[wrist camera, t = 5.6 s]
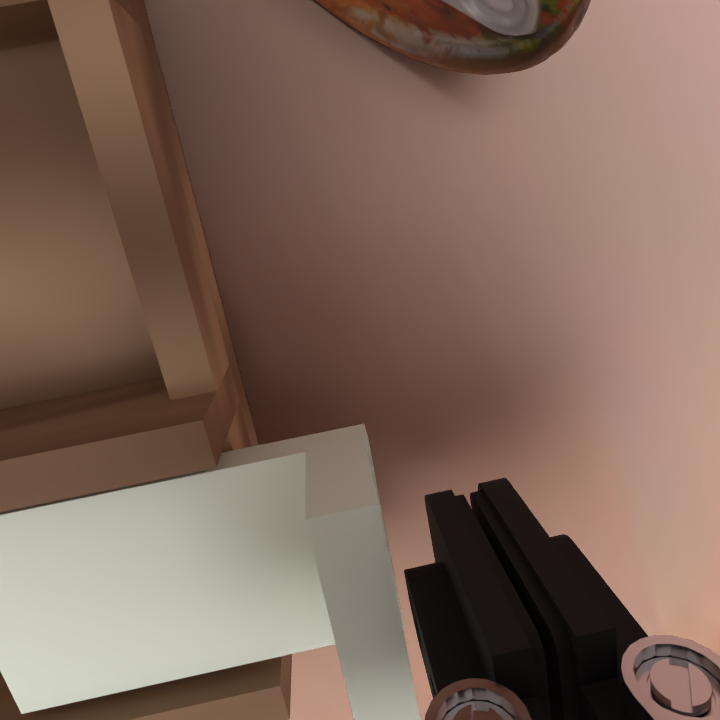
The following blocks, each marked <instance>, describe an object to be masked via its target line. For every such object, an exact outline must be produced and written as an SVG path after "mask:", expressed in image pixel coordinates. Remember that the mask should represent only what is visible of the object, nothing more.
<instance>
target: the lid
mask: <svg viewBox="0 0 720 720" xmlns="http://www.w3.org/2000/svg"><path fill="white" fill-rule="evenodd" d="M403 629H405V628H404V623H403V618H402V613H401V607H400V602H399V597H398V592H397V586H396V581H395V576H394V571H393V565H392V560H391V555H390V550H389V544H388V539H387V534H386V529H385V524H384V518H383V513H382V508H381V503H380V497H379V492H378V487H377V482H376V476H375V471H374V466H373V461H372V456H371V450H370V445H369V440H368V436H367V432H366V428H365V424H359V425H354V426H350V427H345V428H340V429H335V430H330V431H325V432H320V433H316V434H311V435H306V436H301V437H296V438H291V439H286V440H281V441H277V442H272V443H267V444H262V445H257V446H252V447H247V448H242V449H238V450H233V451H228V452H223V453H221V456H220V459H219V462H218V465H217V468H212V469H207V470H202V471H197V472H193V473H188V474H183V475H178V476H173V477H168V478H163V479H159V480H154V481H149V482H144V483H139V484H134V485H130V486H125V487H120V488H115V489H110V490H105V491H100V492H96V493H91V494H86V495H81V496H76V497H71V498H67V499H62V500H57V501H52V502H47V503H42V504H38V505H33V506H28V507H23V508H18V509H13V510H8V511H4V512H0V671H1V673H2V675H3V677H4V679H5V682H6V684H7V686H8V688H9V690H10V692H11V694H12V696H13V698H14V700H15V702H16V704H17V706H18V708H19V710H20V712H21V714H24V713H29V712H33V711H38V710H42V709H47V708H51V707H56V706H60V705H65V704H69V703H74V702H78V701H82V700H87V699H91V698H96V697H100V696H105V695H109V694H114V693H118V692H123V691H127V690H132V689H136V688H141V687H145V686H150V685H154V684H159V683H163V682H168V681H172V680H177V679H181V678H186V677H190V676H195V675H199V674H204V673H208V672H213V671H217V670H222V669H226V668H231V667H235V666H240V665H244V664H249V663H253V662H258V661H262V660H267V659H271V658H276V657H280V656H285V655H289V654H294V653H298V652H303V651H307V650H312V649H316V648H321V647H325V646H330V645H334V644H336V648H337V652H338V656H339V660H340V665H341V669H342V673H343V677H344V681H345V685H346V689H347V693H348V698H349V702H350V706H351V710H352V714H353V718H354V720H420V715H419V710H418V704H417V699H416V694H415V689H414V684H413V678H412V673H411V668H410V663H409V658H408V652H407V647H406V642H405V637H404V631H403Z"/></svg>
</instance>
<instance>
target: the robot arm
mask: <svg viewBox="0 0 720 720" xmlns="http://www.w3.org/2000/svg"><path fill="white" fill-rule="evenodd" d="M470 500H471V507H472V509H471V507H470V505H469V504H468V502H467V500H466V498H465V496H464V495H458V496H455V495H454V493H453V491H452V490H447V491H442V492H438V493H433V494H429V495H425V504H426V510H427V516H428V522H429V528H430V533H431V539H432V545H433V551H434V557H435V563H433V564H428V565H424V566H419V567H415V568H411V569H406V570H404V573H405V579H406V584H407V590H408V595H409V600H410V605H411V610H412V614H413V619H414V624H415V628H416V632H417V637H418V641H419V645H420V649H421V653H422V657H423V661H424V665H425V669H426V673H427V676H428V680H429V684H430V688H431V692H432V696H433V700H432V701H431V703H430V706H429V708H428V710H427V712H426V715H425V720H720V656H718V655H717V654H716V653H714V652H713V651H711V650H710V649H709V648H707V647H704V646H702V645H700V644H698V643H696V642H693V641H691V640H688V639H684V638H680V637H676V636H666V635H654V636H649V637H648V635H647V634H646V633H645V632H644V630H643V629H642V628H641V627H640V625H639V624H638V623H637V621H636V620H635V619H634V618H633V616H632V615H631V614H630V613H629V611H628V610H627V609H626V608H625V606H624V605H623V604H622V602H621V601H620V600H619V599H618V597H617V596H616V595H615V594H614V592H613V591H612V590H611V589H610V587H609V586H608V585H607V584H606V582H605V581H604V580H603V578H602V577H601V576H600V575H599V573H598V572H597V571H596V570H595V568H594V567H593V566H592V565H591V563H590V562H589V561H588V559H587V558H586V557H585V556H584V554H583V553H582V552H581V551H580V549H579V548H578V547H577V546H576V544H575V543H574V542H573V541H572V540H571V539H570V538H569V537H568V536H567V535H564V534H563V535H558V536H554V537H549V536H548V534H547V533H546V531H545V530H544V529H543V527H542V526H541V525H540V523H539V522H538V521H537V519H536V518H535V516H534V515H533V514H532V512H531V511H530V510H529V508H528V507H527V505H526V504H525V503H524V501H523V500H522V499H521V497H520V496H519V494H518V493H517V492H516V490H515V489H514V488H513V486H512V485H511V484H510V482H509V481H508V480H507V479H506V478H502V479H497V480H493V481H488V482H484V483H479V485H478V491H477V492H472V493H471V494H470Z"/></svg>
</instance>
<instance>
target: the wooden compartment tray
mask: <svg viewBox="0 0 720 720" xmlns="http://www.w3.org/2000/svg"><path fill="white" fill-rule="evenodd" d="M257 445H259V444H258V440H257V436H256V433H255V429H254V425H253V421H252V417H251V413H250V409H249V406H248V402H247V398H246V394H245V390H244V386H243V383H242V379H241V375H240V371H239V367H238V363H237V360H236V356H235V352H234V348H233V344H232V340H231V336H230V333H229V329H228V325H227V321H226V317H225V313H224V310H223V306H222V302H221V298H220V294H219V290H218V287H217V283H216V279H215V275H214V271H213V267H212V264H211V260H210V256H209V252H208V248H207V244H206V240H205V237H204V233H203V229H202V225H201V221H200V217H199V214H198V210H197V206H196V202H195V198H194V194H193V191H192V187H191V183H190V179H189V175H188V171H187V168H186V164H185V160H184V156H183V152H182V148H181V144H180V141H179V137H178V133H177V129H176V125H175V121H174V118H173V114H172V110H171V106H170V102H169V98H168V95H167V91H166V87H165V83H164V79H163V75H162V72H161V68H160V64H159V60H158V56H157V52H156V48H155V45H154V41H153V37H152V33H151V29H150V25H149V22H148V18H147V14H146V10H145V6H144V2H143V0H0V512H4V511H8V510H13V509H18V508H23V507H28V506H33V505H38V504H42V503H47V502H52V501H57V500H62V499H67V498H71V497H76V496H81V495H86V494H91V493H96V492H100V491H105V490H110V489H115V488H120V487H125V486H130V485H134V484H139V483H144V482H149V481H154V480H159V479H163V478H168V477H173V476H178V475H183V474H188V473H193V472H197V471H202V470H207V469H212V468H217V465H218V462H219V459H220V456H221V453H223V452H228V451H233V450H238V449H242V448H247V447H252V446H257ZM291 665H292V654H289V655H285V656H280V657H276V658H271V659H267V660H262V661H258V662H253V663H249V664H244V665H240V666H235V667H231V668H226V669H222V670H217V671H213V672H208V673H204V674H199V675H195V676H190V677H186V678H181V679H177V680H172V681H168V682H163V683H159V684H154V685H150V686H145V687H141V688H136V689H132V690H127V691H123V692H118V693H114V694H109V695H105V696H100V697H96V698H91V699H87V700H82V701H78V702H74V703H69V704H65V705H60V706H56V707H51V708H47V709H42V710H38V711H33V712H29V713H24V714H21V712H20V710H19V708H18V706H17V704H16V702H15V700H14V698H13V696H12V694H11V692H10V690H9V688H8V686H7V684H6V682H5V679H4V677H3V675H2V673H1V671H0V720H289V719H290V696H291Z"/></svg>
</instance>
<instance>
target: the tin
mask: <svg viewBox="0 0 720 720" xmlns="http://www.w3.org/2000/svg"><path fill="white" fill-rule="evenodd" d="M315 1H316V2H318V3H319V4H321V5H322V6H323V7H325V8H326V9H327V10H329V11H330V12H331V13H333V14H334V15H336V16H337V17H339V18H340V19H341V20H343V21H344V22H346V23H347V24H349V25H350V26H352V27H353V28H355V29H357V30H358V31H360V32H361V33H363V34H364V35H366V36H368V37H370V38H372V39H374V40H376V41H378V42H380V43H381V44H383V45H385V46H387V47H389V48H391V49H393V50H395V51H397V52H399V53H401V54H404V55H406V56H408V57H410V58H413V59H415V60H418V61H421V62H423V63H426V64H429V65H432V66H434V67H438V68H443V69H447V70H452V71H456V72H463V73H473V74H481V75H489V74H501V73H510V72H516V71H521V70H524V69H528V68H530V67H533V66H535V65H537V64H539V63H541V62H543V61H545V60H546V59H548V58H549V57H550V56H551V55H553V54H554V53H556V52H557V51H558V50H560V49H561V48H562V47H563V46H564V45H565V44H566V42H567V41H568V40H569V39H570V38H571V36H572V35H573V34H574V32H575V31H576V30H577V28H578V27H579V25H580V23H581V22H582V19H583V17H584V15H585V13H586V11H587V9H588V6H589V3H590V0H315Z"/></svg>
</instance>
